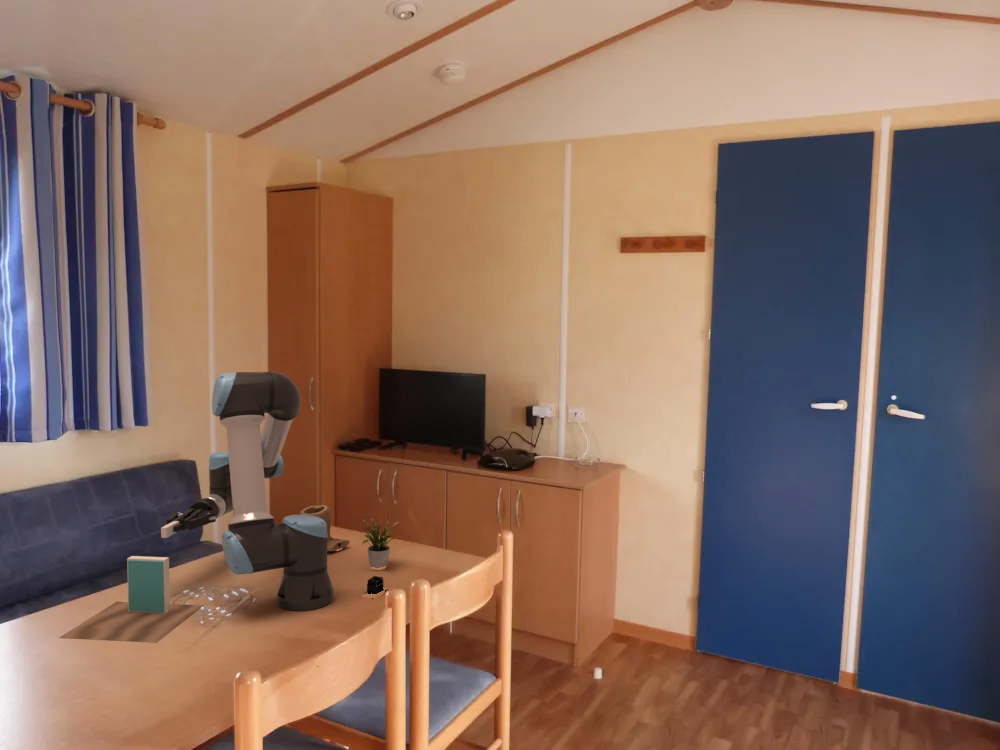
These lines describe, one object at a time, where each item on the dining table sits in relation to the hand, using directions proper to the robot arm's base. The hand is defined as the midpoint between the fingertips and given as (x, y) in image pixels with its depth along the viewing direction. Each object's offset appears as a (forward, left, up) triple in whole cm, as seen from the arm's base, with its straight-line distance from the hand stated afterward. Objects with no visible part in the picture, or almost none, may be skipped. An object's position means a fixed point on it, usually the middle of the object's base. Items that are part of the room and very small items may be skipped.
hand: (163, 532), depth 187 cm
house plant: (-48, -36, -20) cm, 63 cm away
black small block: (-53, -15, -21) cm, 59 cm away
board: (0, +13, -20) cm, 24 cm away
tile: (0, +7, -18) cm, 20 cm away
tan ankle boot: (-26, -51, -20) cm, 60 cm away
